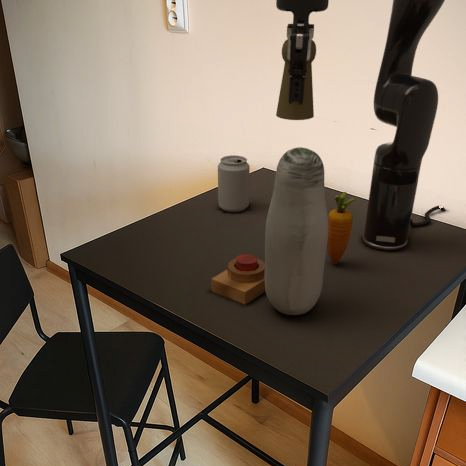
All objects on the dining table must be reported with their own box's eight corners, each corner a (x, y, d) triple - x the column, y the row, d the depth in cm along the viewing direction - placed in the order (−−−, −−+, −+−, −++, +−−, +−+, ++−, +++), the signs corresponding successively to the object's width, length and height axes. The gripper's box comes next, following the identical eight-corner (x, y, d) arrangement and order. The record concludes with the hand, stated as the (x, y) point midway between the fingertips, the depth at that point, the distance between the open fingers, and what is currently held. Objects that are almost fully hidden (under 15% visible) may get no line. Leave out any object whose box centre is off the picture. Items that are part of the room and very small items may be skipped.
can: (249, 213, 141) (249, 163, 134) (217, 213, 141) (217, 163, 134) (248, 202, 147) (249, 153, 140) (218, 201, 147) (218, 153, 140)
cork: (302, 122, 90) (308, 42, 84) (268, 116, 93) (271, 38, 87) (320, 114, 95) (327, 37, 88) (287, 109, 97) (292, 34, 91)
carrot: (332, 256, 122) (340, 186, 114) (352, 264, 119) (361, 192, 111) (317, 264, 119) (324, 192, 111) (337, 272, 117) (345, 199, 108)
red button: (231, 268, 109) (231, 259, 108) (244, 260, 112) (244, 252, 111) (248, 274, 107) (248, 265, 106) (261, 266, 110) (261, 258, 109)
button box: (211, 291, 110) (210, 269, 108) (247, 270, 117) (247, 249, 115) (245, 305, 106) (245, 283, 104) (280, 282, 113) (281, 260, 111)
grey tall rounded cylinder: (328, 320, 102) (345, 157, 86) (271, 327, 100) (278, 162, 84) (309, 292, 110) (322, 139, 94) (256, 298, 108) (260, 143, 92)
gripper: (332, -26, 77) (320, 112, 87) (329, -31, 88) (319, 92, 98) (274, -27, 77) (269, 111, 87) (279, -31, 89) (274, 90, 99)
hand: (296, 100), depth 93 cm, fingers closed on cork, 4 cm apart
